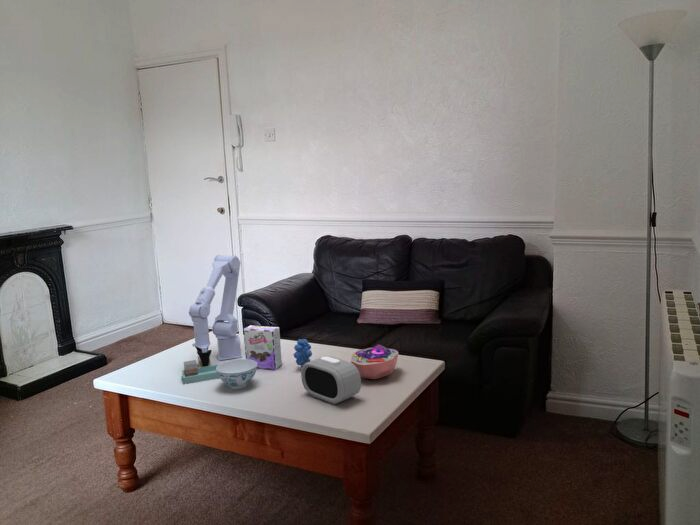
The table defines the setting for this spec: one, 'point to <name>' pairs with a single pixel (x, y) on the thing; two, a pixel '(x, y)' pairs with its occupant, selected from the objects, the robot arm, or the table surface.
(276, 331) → the candy box
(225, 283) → the robot arm
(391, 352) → the cell model
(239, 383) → the chinaware
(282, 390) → the table surface
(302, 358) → the grapes
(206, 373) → the tray
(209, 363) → the carton
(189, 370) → the tin
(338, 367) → the alarm clock
